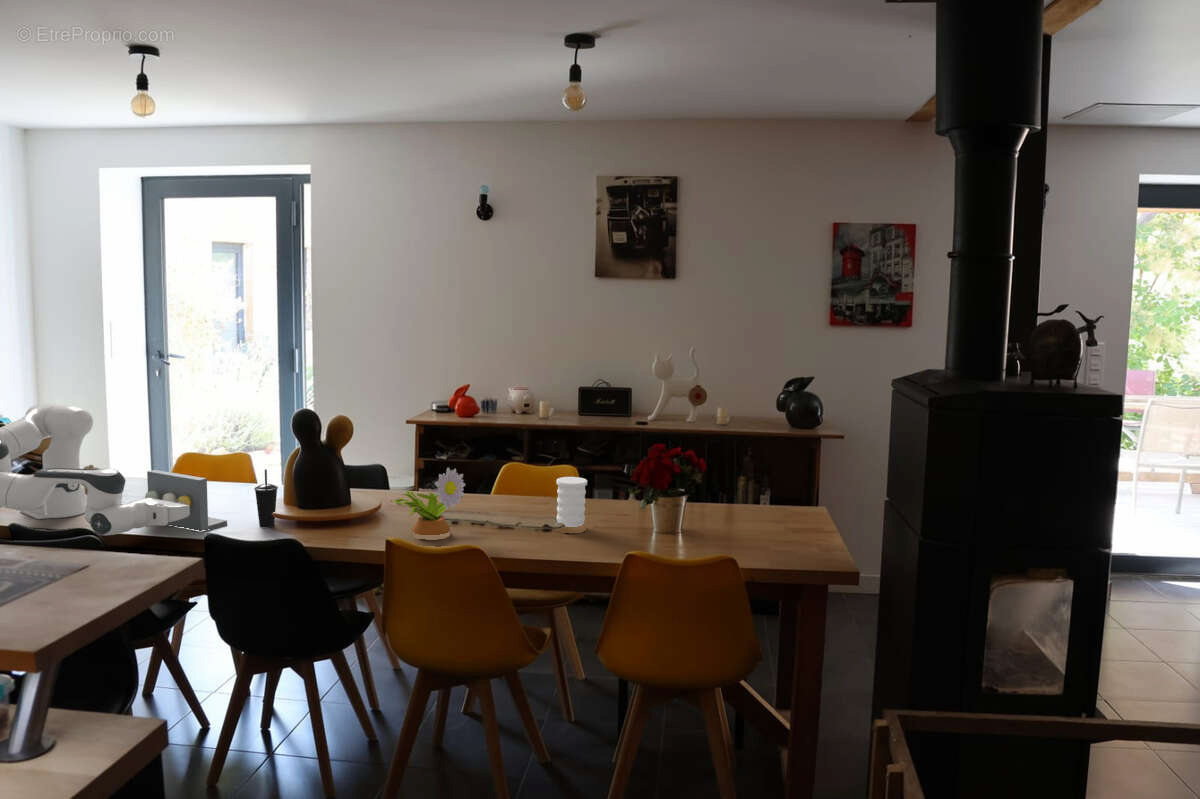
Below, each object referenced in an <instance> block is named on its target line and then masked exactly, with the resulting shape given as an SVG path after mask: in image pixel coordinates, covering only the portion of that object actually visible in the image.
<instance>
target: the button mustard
mask: <svg viewBox="0 0 1200 799" xmlns="http://www.w3.org/2000/svg"><path fill="white" fill-rule="evenodd" d="M178 501H183V502H184V504H185V505H189V506H190V507H191V504H192V501H191V498H190V497H189V496H187V495H185V496H181V497H179V498H178Z"/></svg>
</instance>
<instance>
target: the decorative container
mask: <svg viewBox="0 0 1200 799" xmlns="http://www.w3.org/2000/svg"><path fill="white" fill-rule="evenodd" d="M556 485H557V490H556V492H557V497H556V498H557V499H556V501H557V506H556V512H557V515H556V521H557V522H558V523H563V524H564V525H565V526H566V527H578V526H582V525H583V524H585V521H586V516H585V512H586V507H585V504H586V493H587V491H586V486H588V480H587V479H586V478H583V477H578V476H563V477H562V476H561V477H559V478H556ZM557 522H556V523H557Z"/></svg>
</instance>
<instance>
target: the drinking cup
mask: <svg viewBox="0 0 1200 799" xmlns="http://www.w3.org/2000/svg"><path fill="white" fill-rule="evenodd" d="M253 490H254V491H255V492H254V493H255V499H256V508H257V517H258V525H259V527H260V528H262V527H269V528H271V527H270V526H273V527H274V526H275V523H276V521H275V520H276V516H275V517H274V516H272V515H271V514H272V513H273V512H275V513H276V509H277V496H278V495H277V494H278V490H279V487H278V486H277V485H274V484H272V483H268V469H266V468H265V469H264V483H262V484H259V485H257V486H255V487H254V488H253Z"/></svg>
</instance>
